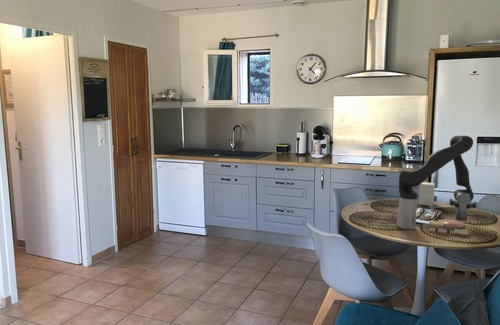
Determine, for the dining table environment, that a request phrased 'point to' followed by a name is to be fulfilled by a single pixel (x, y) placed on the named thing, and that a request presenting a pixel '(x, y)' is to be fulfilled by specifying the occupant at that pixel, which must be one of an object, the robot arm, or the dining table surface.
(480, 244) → the dining table surface
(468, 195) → the tea canister
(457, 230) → the balance
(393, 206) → the dining table surface
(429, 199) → the supplement box
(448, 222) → the tan round piece
